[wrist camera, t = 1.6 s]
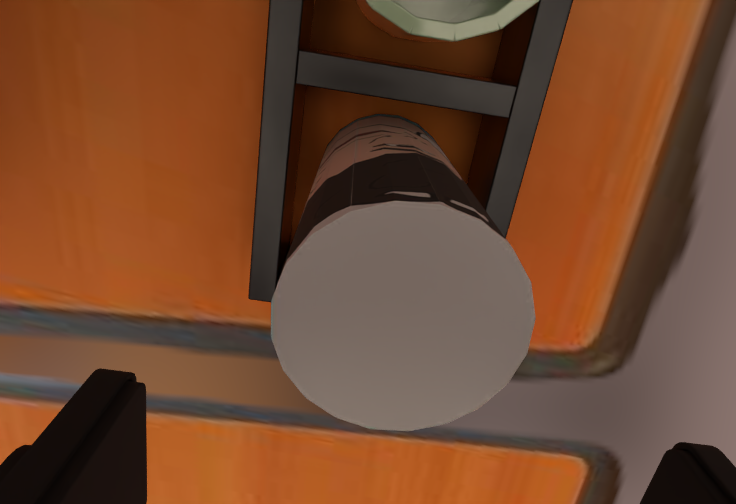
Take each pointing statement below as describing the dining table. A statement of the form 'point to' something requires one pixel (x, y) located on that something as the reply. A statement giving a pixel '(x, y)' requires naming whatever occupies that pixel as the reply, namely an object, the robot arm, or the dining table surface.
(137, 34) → the dining table surface
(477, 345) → the cup
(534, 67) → the cup stand
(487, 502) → the dining table surface
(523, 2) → the green tumbler
